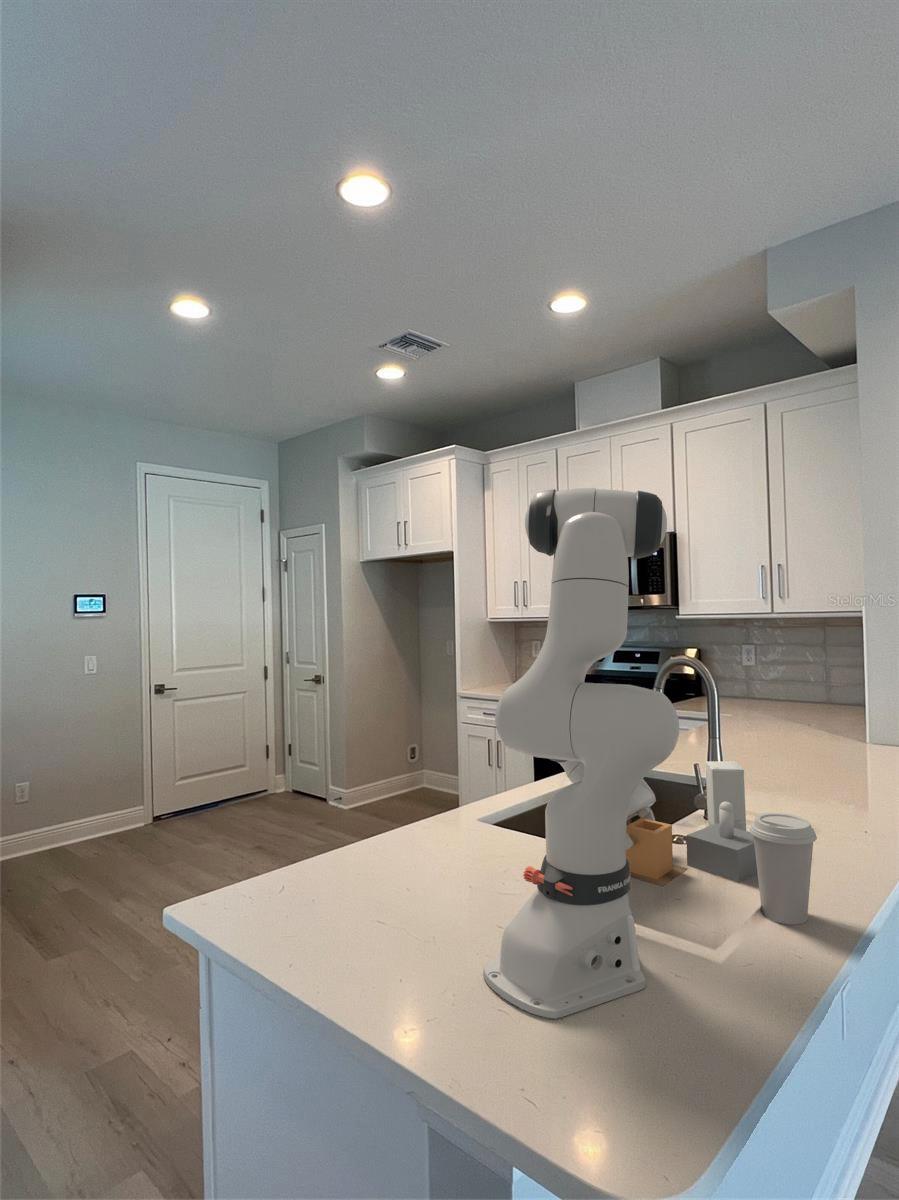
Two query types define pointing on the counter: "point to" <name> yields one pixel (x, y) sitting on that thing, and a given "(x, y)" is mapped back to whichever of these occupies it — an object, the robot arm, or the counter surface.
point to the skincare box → (725, 791)
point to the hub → (723, 848)
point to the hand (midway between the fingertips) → (644, 839)
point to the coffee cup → (783, 865)
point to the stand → (665, 878)
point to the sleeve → (650, 848)
